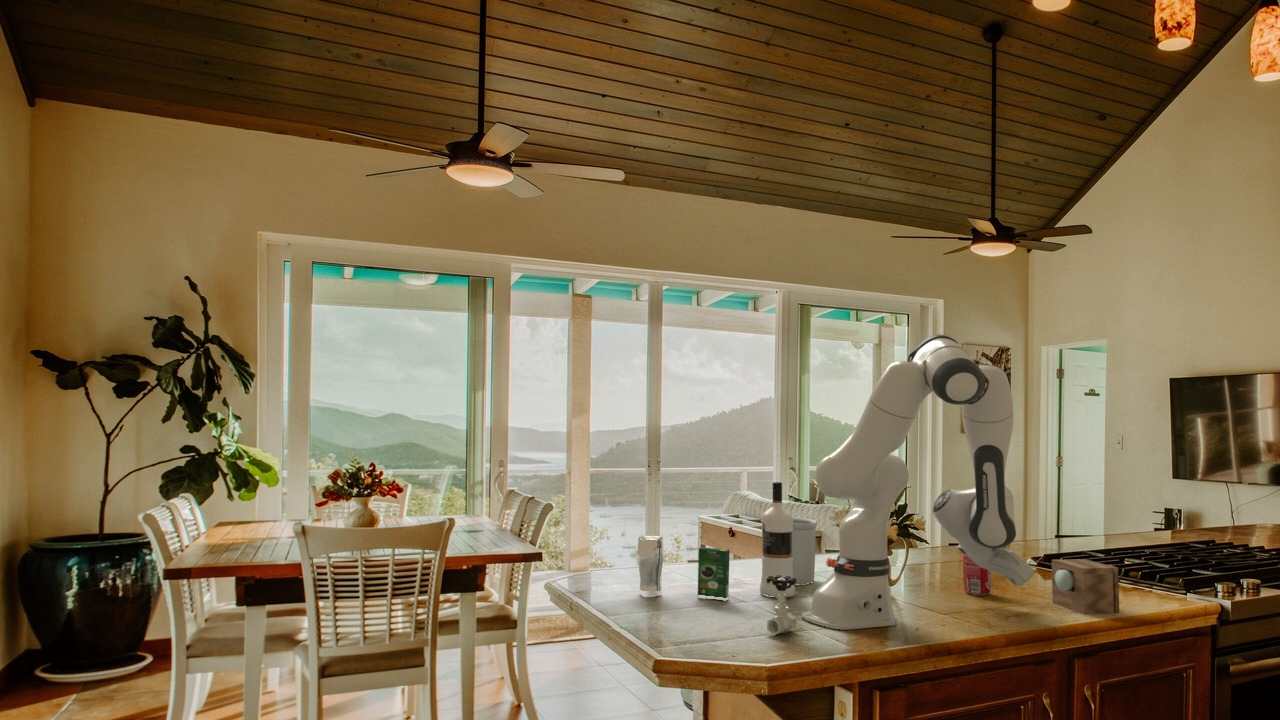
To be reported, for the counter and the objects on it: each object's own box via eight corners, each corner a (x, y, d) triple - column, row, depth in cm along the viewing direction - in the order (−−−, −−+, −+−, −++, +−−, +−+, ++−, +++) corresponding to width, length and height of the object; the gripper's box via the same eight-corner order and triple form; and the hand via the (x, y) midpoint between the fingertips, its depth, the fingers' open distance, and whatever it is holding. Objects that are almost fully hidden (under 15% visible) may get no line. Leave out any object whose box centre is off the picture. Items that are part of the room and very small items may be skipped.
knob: (1068, 592, 201) (1067, 571, 202) (1055, 588, 206) (1054, 568, 207) (1102, 591, 203) (1102, 571, 203) (1088, 587, 208) (1088, 567, 208)
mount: (1084, 613, 198) (1083, 568, 199) (1052, 602, 210) (1051, 559, 210) (1119, 612, 199) (1118, 567, 200) (1085, 601, 211) (1084, 559, 212)
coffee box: (730, 599, 209) (730, 548, 210) (726, 602, 207) (727, 550, 207) (700, 596, 212) (701, 546, 213) (697, 599, 210) (697, 548, 211)
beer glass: (644, 591, 218) (644, 535, 219) (667, 593, 215) (668, 537, 216) (632, 596, 212) (633, 538, 213) (656, 599, 209) (656, 540, 210)
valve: (760, 633, 177) (760, 578, 178) (776, 628, 182) (776, 574, 183) (786, 639, 173) (786, 582, 173) (802, 633, 177) (802, 578, 178)
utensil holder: (823, 579, 237) (823, 519, 238) (806, 588, 224) (806, 524, 225) (776, 573, 245) (776, 515, 246) (757, 582, 232) (757, 520, 233)
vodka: (796, 599, 210) (796, 483, 212) (760, 598, 211) (760, 483, 213) (793, 592, 219) (793, 480, 221) (759, 590, 220) (759, 480, 222)
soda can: (986, 591, 223) (985, 547, 224) (995, 596, 216) (994, 551, 217) (960, 590, 224) (959, 546, 224) (967, 596, 217) (967, 550, 217)
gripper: (1016, 542, 192) (1054, 583, 193) (969, 529, 212) (1003, 566, 213) (999, 561, 191) (1038, 602, 192) (953, 547, 211) (988, 584, 212)
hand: (1019, 583), depth 203 cm, fingers closed
